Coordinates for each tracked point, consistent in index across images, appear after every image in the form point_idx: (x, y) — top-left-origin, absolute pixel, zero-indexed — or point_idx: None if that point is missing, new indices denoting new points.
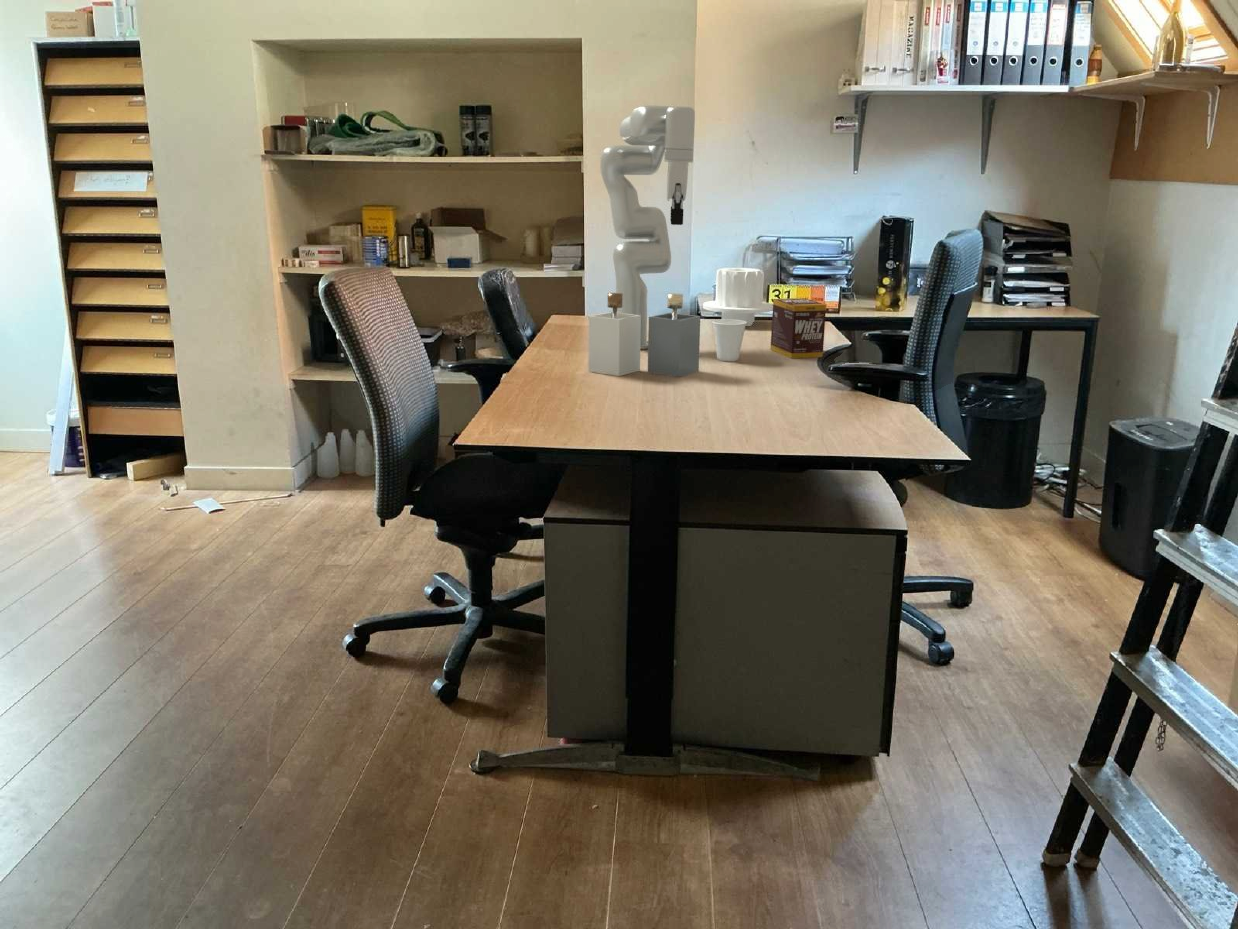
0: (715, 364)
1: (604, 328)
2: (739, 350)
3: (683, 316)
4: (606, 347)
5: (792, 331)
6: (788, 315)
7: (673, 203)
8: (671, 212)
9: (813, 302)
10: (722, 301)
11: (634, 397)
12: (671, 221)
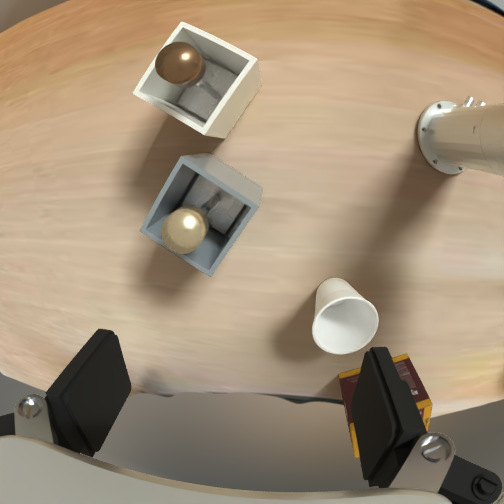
0: (291, 270)
1: None
2: (325, 317)
3: (229, 239)
4: None
5: (345, 400)
6: None
7: (20, 430)
8: (62, 377)
9: None
10: None
11: (51, 151)
12: (94, 339)
